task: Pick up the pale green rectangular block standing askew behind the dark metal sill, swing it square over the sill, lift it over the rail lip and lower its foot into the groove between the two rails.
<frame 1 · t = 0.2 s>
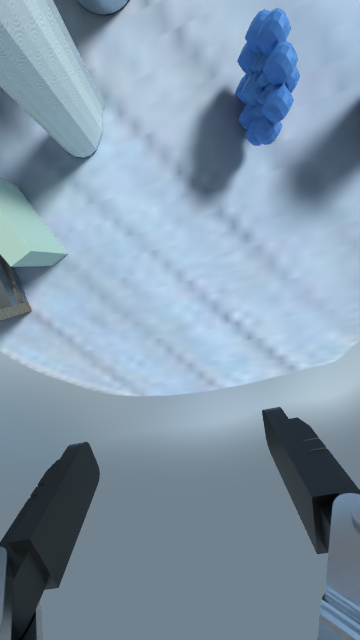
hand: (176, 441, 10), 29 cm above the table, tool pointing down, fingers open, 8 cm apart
grapes: (253, 120, 31), on the table
paper towel roll: (84, 135, 31), on the table
pale green rectangular block: (35, 227, 34), on the table
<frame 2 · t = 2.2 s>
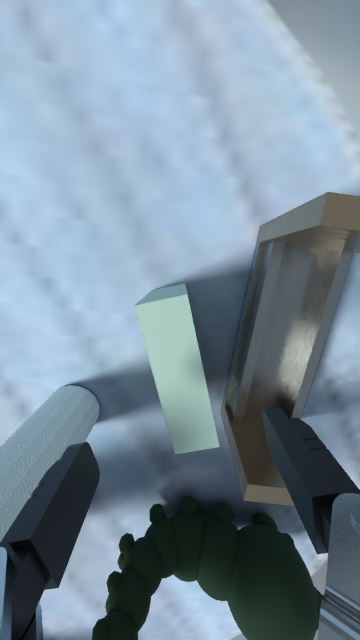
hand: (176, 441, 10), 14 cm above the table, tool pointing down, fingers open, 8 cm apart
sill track: (274, 334, 24), on the table
paper towel roll: (72, 403, 26), on the table
toy figurine: (213, 512, 30), on the table
pale green rectangular block: (181, 339, 24), on the table
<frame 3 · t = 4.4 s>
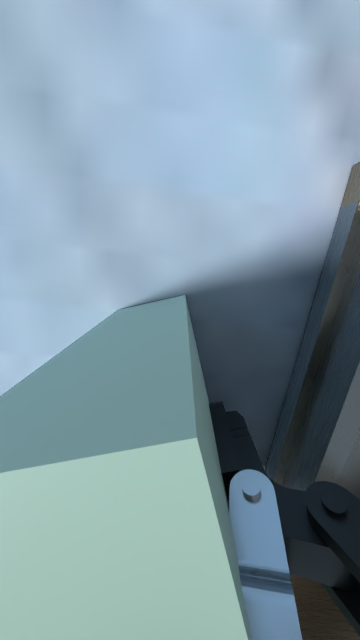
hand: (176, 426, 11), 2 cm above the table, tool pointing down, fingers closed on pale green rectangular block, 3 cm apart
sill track: (359, 393, 12), on the table
pale green rectangular block: (178, 403, 12), on the table, touching gripper
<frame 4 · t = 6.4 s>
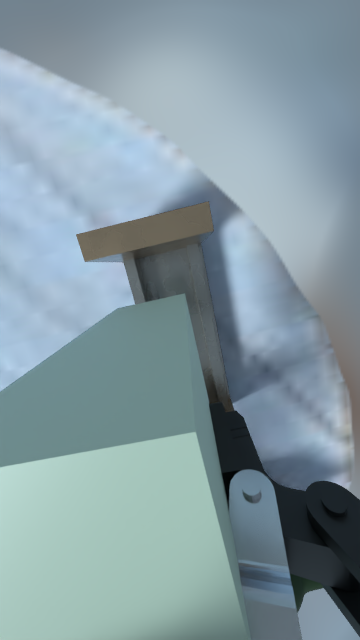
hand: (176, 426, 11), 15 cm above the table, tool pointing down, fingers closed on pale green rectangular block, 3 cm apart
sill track: (181, 333, 25), on the table
toy figurine: (207, 504, 32), on the table
pale green rectangular block: (177, 402, 12), point 13 cm above the table, touching gripper
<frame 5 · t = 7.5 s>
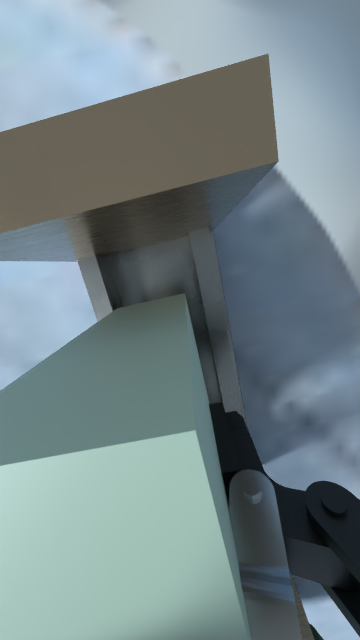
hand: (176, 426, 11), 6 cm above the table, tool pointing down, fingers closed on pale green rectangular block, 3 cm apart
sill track: (180, 370, 16), on the table
pale green rectangular block: (177, 402, 12), point 4 cm above the table, touching gripper
when the fingers open (4 cm above the table, at t = 8.5 s): pale green rectangular block drops 1 cm, resting on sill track.
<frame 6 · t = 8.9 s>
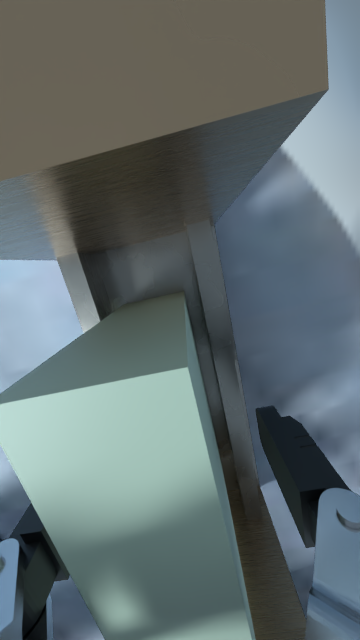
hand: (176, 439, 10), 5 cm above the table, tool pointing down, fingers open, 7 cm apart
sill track: (178, 381, 15), on the table
pale green rectangular block: (177, 389, 14), point 1 cm above the table, touching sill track
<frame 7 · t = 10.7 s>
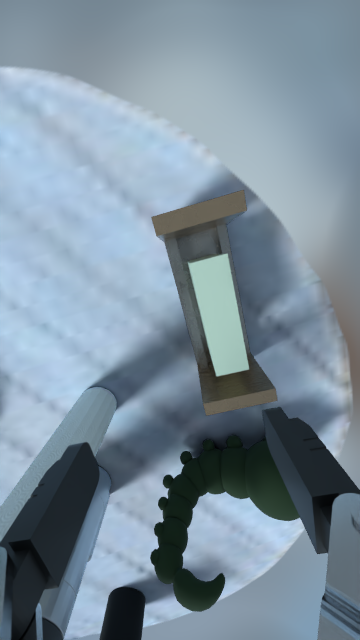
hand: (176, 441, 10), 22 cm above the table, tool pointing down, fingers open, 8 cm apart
bottle: (127, 596, 52), on the table
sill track: (209, 299, 31), on the table
paper towel roll: (96, 401, 36), on the table
toy figurine: (231, 446, 38), on the table
pale green rectangular block: (210, 301, 30), point 1 cm above the table, touching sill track
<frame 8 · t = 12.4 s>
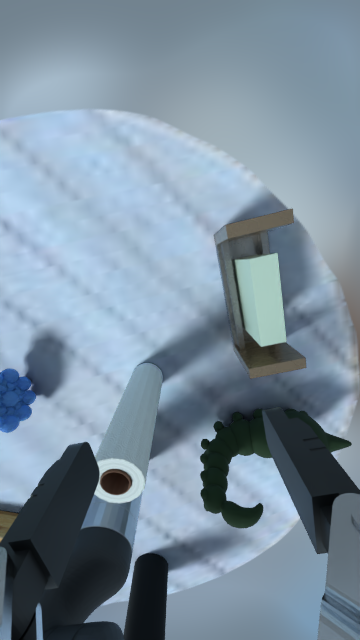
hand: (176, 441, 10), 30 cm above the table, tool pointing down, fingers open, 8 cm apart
bottle: (151, 563, 57), on the table
tray: (35, 533, 55), on the table
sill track: (247, 292, 38), on the table
grapes: (25, 381, 43), on the table
paper towel roll: (145, 375, 43), on the table
toy figurine: (255, 419, 45), on the table
pale green rectangular block: (248, 293, 37), point 1 cm above the table, touching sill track
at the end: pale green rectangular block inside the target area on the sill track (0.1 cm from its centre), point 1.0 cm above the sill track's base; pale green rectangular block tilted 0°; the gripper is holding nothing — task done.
